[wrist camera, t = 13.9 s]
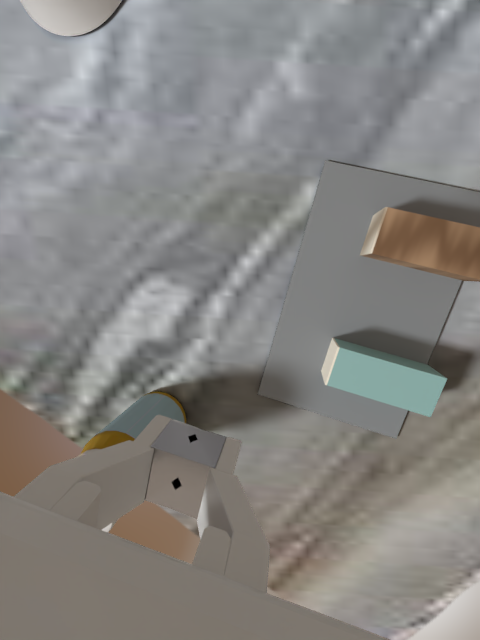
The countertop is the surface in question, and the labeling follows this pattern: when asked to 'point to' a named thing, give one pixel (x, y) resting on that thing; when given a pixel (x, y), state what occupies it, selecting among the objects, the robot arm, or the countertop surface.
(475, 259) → the walnut block
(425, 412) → the teal block
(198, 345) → the countertop surface
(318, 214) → the mat
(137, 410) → the bottle
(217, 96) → the countertop surface
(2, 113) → the countertop surface
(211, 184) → the countertop surface
